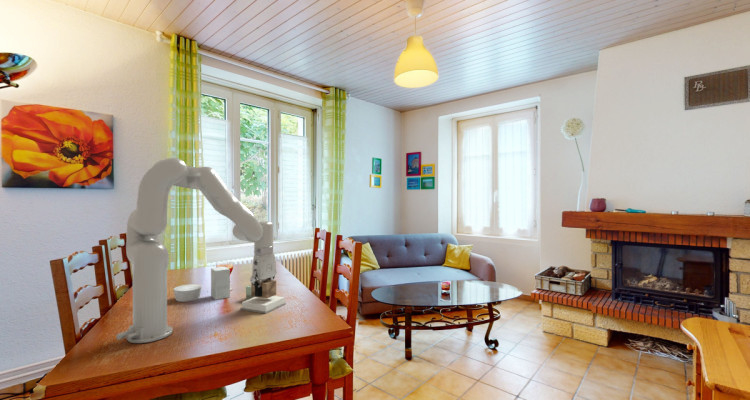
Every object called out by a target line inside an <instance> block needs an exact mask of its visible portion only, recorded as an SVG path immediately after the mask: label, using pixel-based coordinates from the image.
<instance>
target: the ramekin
mask: <svg viewBox="0 0 750 400" xmlns="http://www.w3.org/2000/svg"><path fill="white" fill-rule="evenodd" d="M201 291H202V285H201V284H194V283H193V284H192V283H191V284H190V283H189V284H183V285H179V286H176V287H174V288H173V294H174V297H175V301H177V302H179V303H181V302H182V303H185V302H192V301H196V300H198V299H199V298H200V296H201Z"/></svg>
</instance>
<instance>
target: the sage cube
mask: <svg viewBox="0 0 750 400" xmlns="http://www.w3.org/2000/svg"><path fill="white" fill-rule="evenodd" d="M251 298H254V297H252V296H251V284H249V285H247V286H245V301H246V300H249V299H251Z"/></svg>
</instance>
